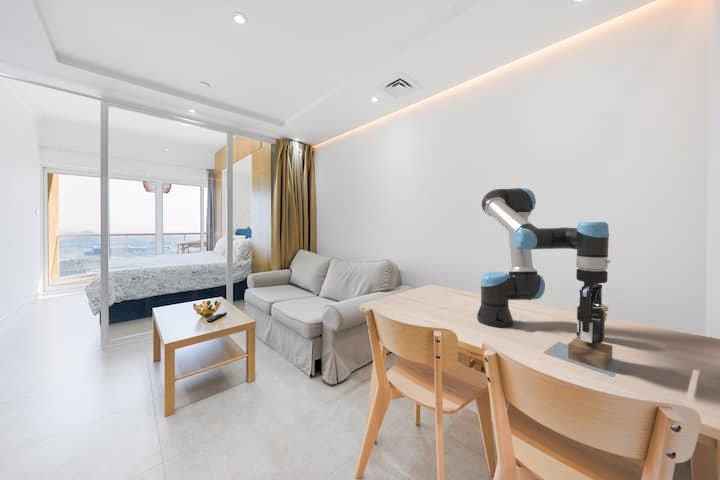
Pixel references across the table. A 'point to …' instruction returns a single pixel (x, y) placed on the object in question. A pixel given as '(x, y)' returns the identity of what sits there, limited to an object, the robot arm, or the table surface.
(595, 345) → the walnut block
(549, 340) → the table surface
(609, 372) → the plate
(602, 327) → the beverage can
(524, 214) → the robot arm
